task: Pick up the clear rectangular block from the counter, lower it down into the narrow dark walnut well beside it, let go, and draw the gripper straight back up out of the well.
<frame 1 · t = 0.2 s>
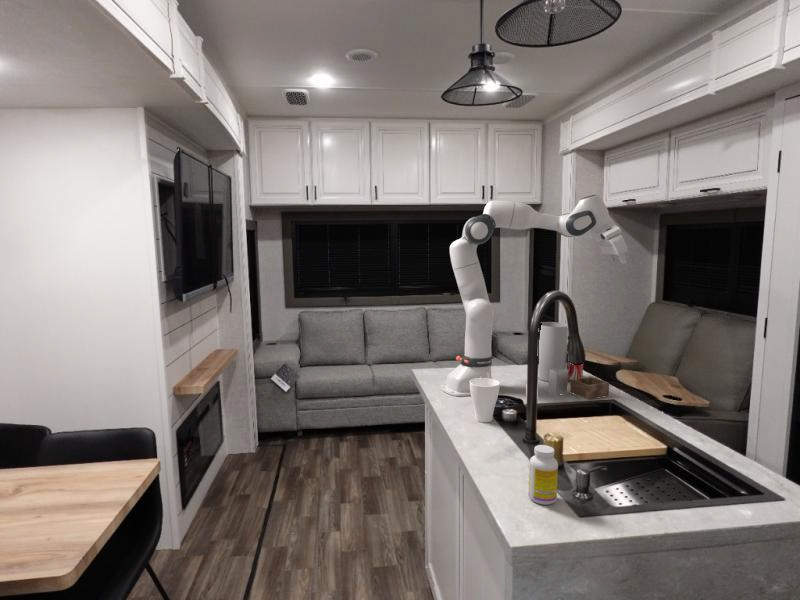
hand: (619, 262, 201), 54 cm above the countertop, tool tilted 30°, fingers open, 8 cm apart
supplement bottle: (542, 499, 123), on the countertop
cup: (483, 420, 176), on the countertop
walnut well: (588, 394, 205), on the countertop
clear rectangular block: (557, 393, 206), on the countertop
cylinder vase: (550, 379, 227), on the countertop
soda can: (573, 380, 225), on the countertop
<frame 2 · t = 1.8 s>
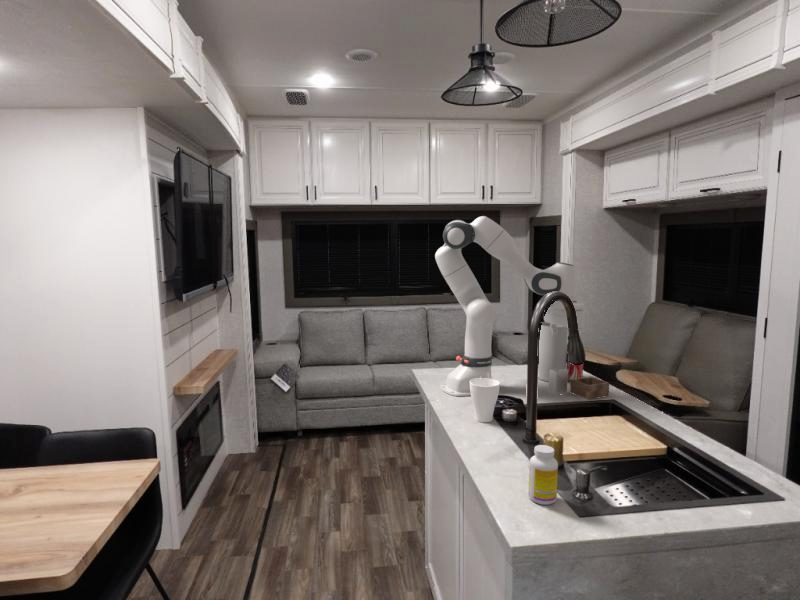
hand: (562, 336, 203), 24 cm above the countertop, tool pointing down, fingers open, 8 cm apart
nothing on the countertop moved.
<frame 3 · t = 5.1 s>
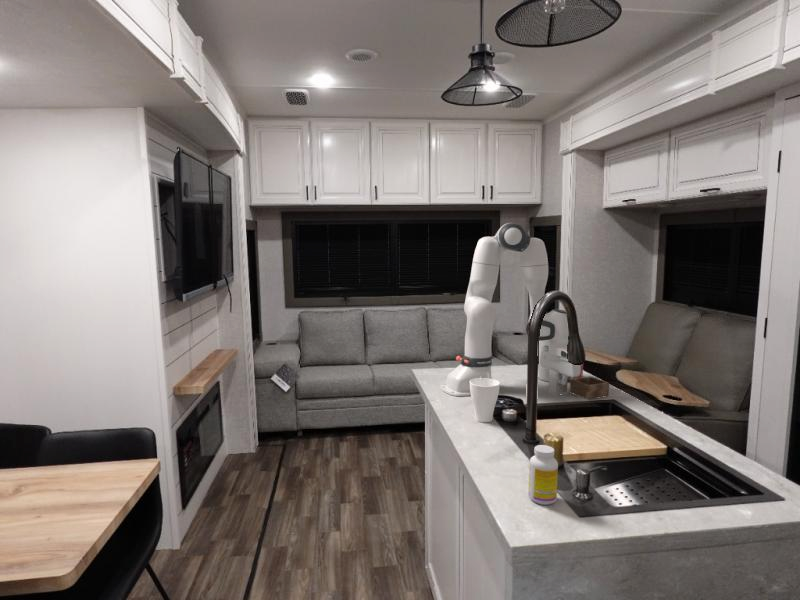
hand: (558, 382, 205), 5 cm above the countertop, tool pointing down, fingers closed on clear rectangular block, 4 cm apart
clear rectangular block: (557, 393, 206), on the countertop, touching gripper
everything else where it was.
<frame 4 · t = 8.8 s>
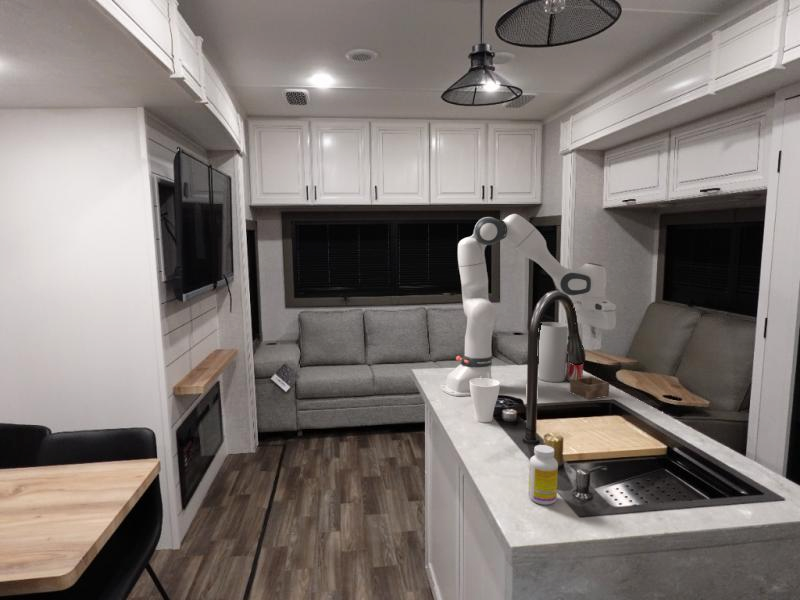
hand: (591, 337, 202), 24 cm above the countertop, tool pointing down, fingers closed on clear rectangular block, 4 cm apart
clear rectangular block: (591, 348, 203), point 19 cm above the countertop, touching gripper
everything else where it was.
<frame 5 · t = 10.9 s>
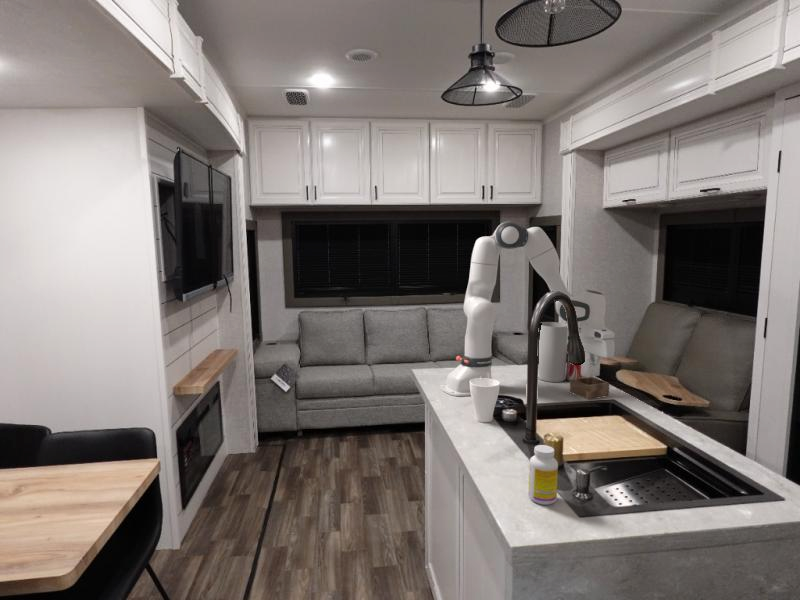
hand: (590, 364, 203), 13 cm above the countertop, tool pointing down, fingers closed on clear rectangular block, 4 cm apart
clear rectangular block: (590, 375, 204), point 8 cm above the countertop, touching gripper
everything else where it was.
when the fingers open (7 cm above the countertop, at t = 12.8 s): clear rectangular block drops 1 cm, resting on walnut well.
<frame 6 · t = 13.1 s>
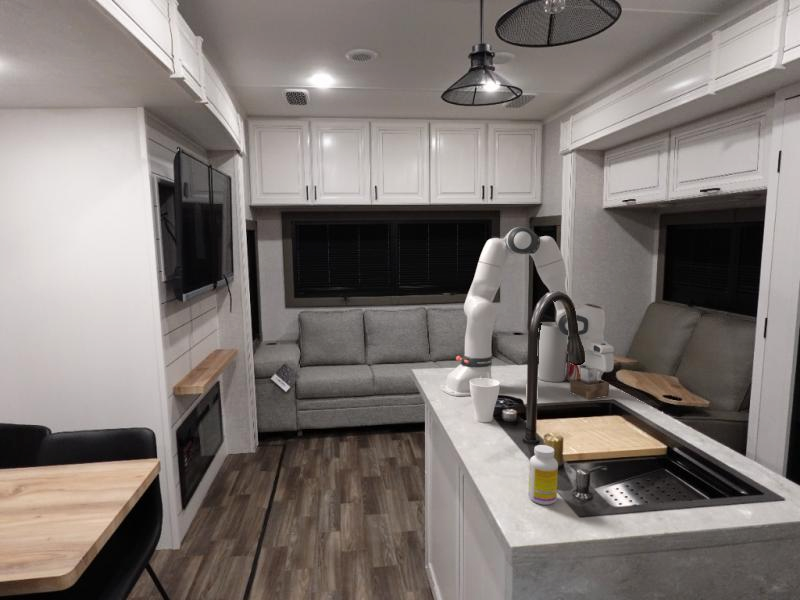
hand: (589, 377, 204), 7 cm above the countertop, tool pointing down, fingers open, 7 cm apart
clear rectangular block: (588, 391, 205), point 1 cm above the countertop, touching walnut well
everything else where it was.
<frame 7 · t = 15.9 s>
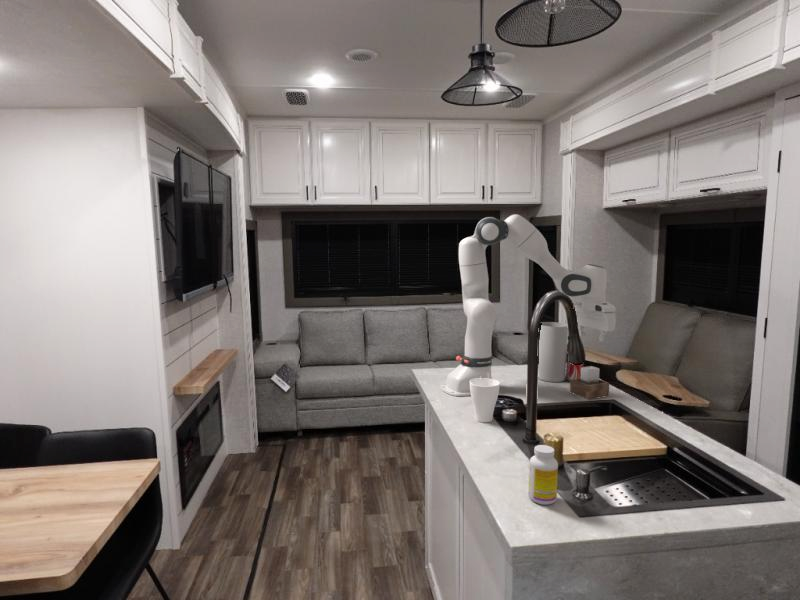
hand: (591, 338, 202), 23 cm above the countertop, tool pointing down, fingers open, 8 cm apart
nothing on the countertop moved.
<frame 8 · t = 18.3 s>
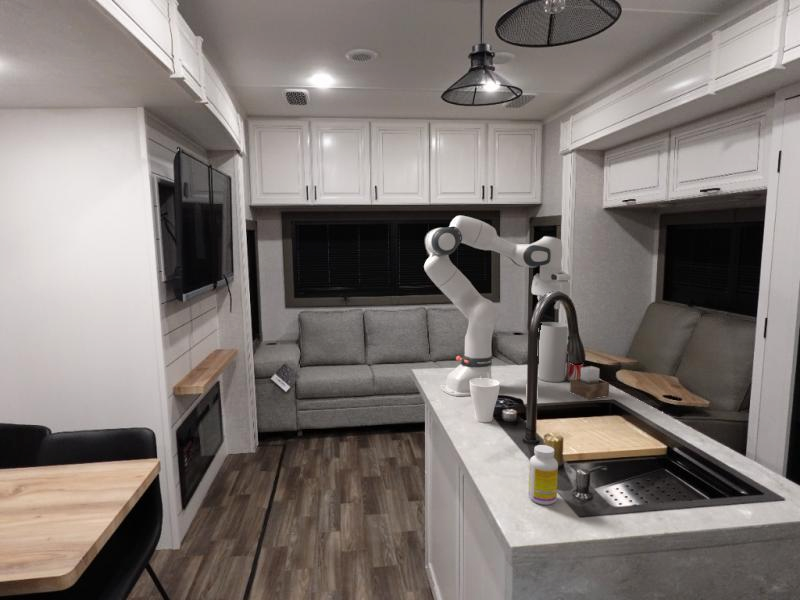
hand: (549, 307, 213), 34 cm above the countertop, tool pointing down, fingers open, 8 cm apart
nothing on the countertop moved.
at the end: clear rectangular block 0.1 cm off-centre on the walnut well, point 1.0 cm above the walnut well's base; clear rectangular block tilted 0°; the gripper is holding nothing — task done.
